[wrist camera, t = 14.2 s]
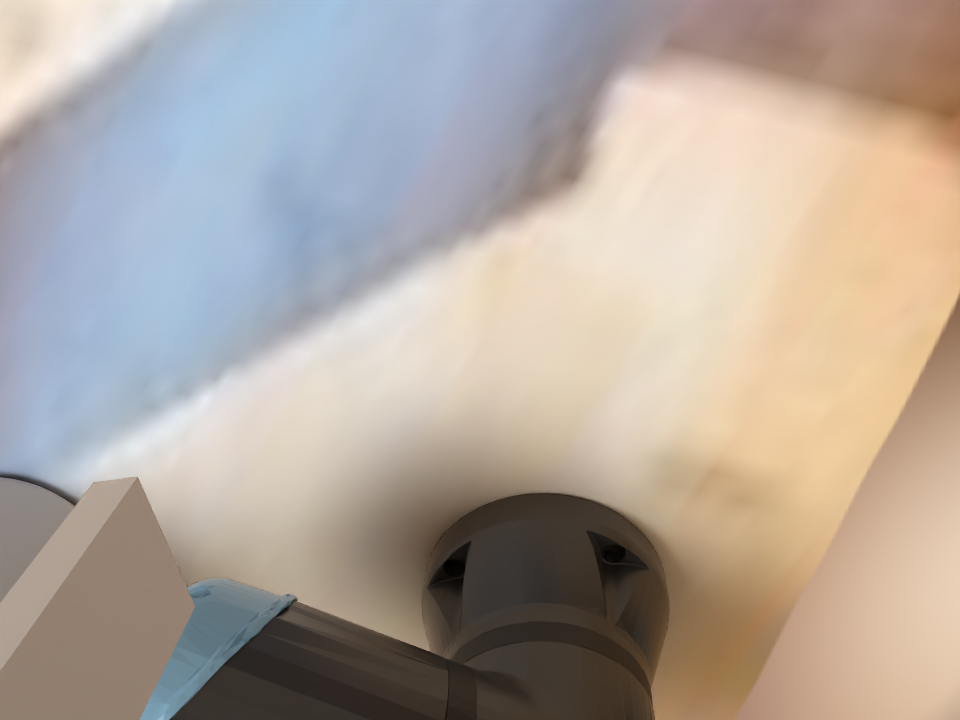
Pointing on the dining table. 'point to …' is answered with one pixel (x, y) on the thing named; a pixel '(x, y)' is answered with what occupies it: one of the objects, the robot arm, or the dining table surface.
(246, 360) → the dining table surface
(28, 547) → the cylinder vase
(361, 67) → the dining table surface
